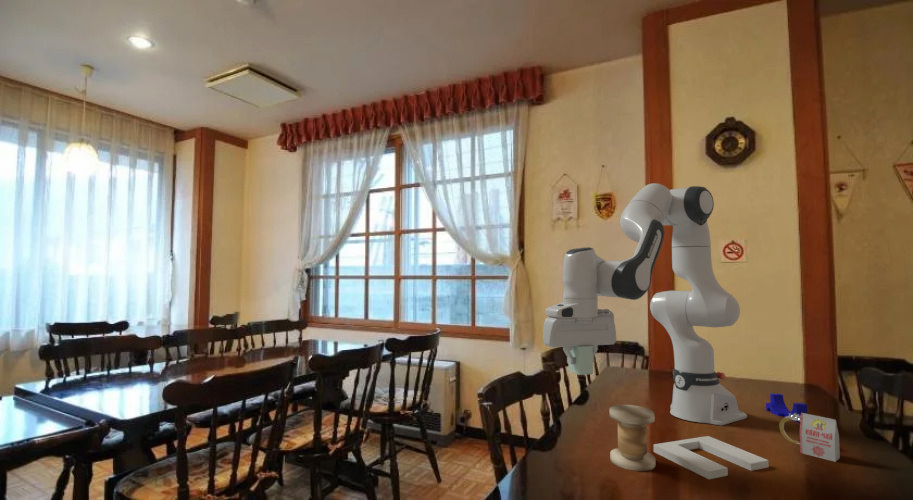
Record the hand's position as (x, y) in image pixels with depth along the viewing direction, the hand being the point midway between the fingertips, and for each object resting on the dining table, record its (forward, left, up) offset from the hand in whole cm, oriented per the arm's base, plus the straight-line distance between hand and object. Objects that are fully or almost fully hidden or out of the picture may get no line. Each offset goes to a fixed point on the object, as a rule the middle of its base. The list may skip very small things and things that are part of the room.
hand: (580, 363), depth 114 cm
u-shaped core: (-25, +16, -22) cm, 36 cm away
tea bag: (-52, +23, -22) cm, 61 cm away
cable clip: (-75, 0, -22) cm, 78 cm away
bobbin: (-7, +11, -22) cm, 25 cm away
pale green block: (0, 0, -2) cm, 2 cm away
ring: (-55, +16, -22) cm, 61 cm away
